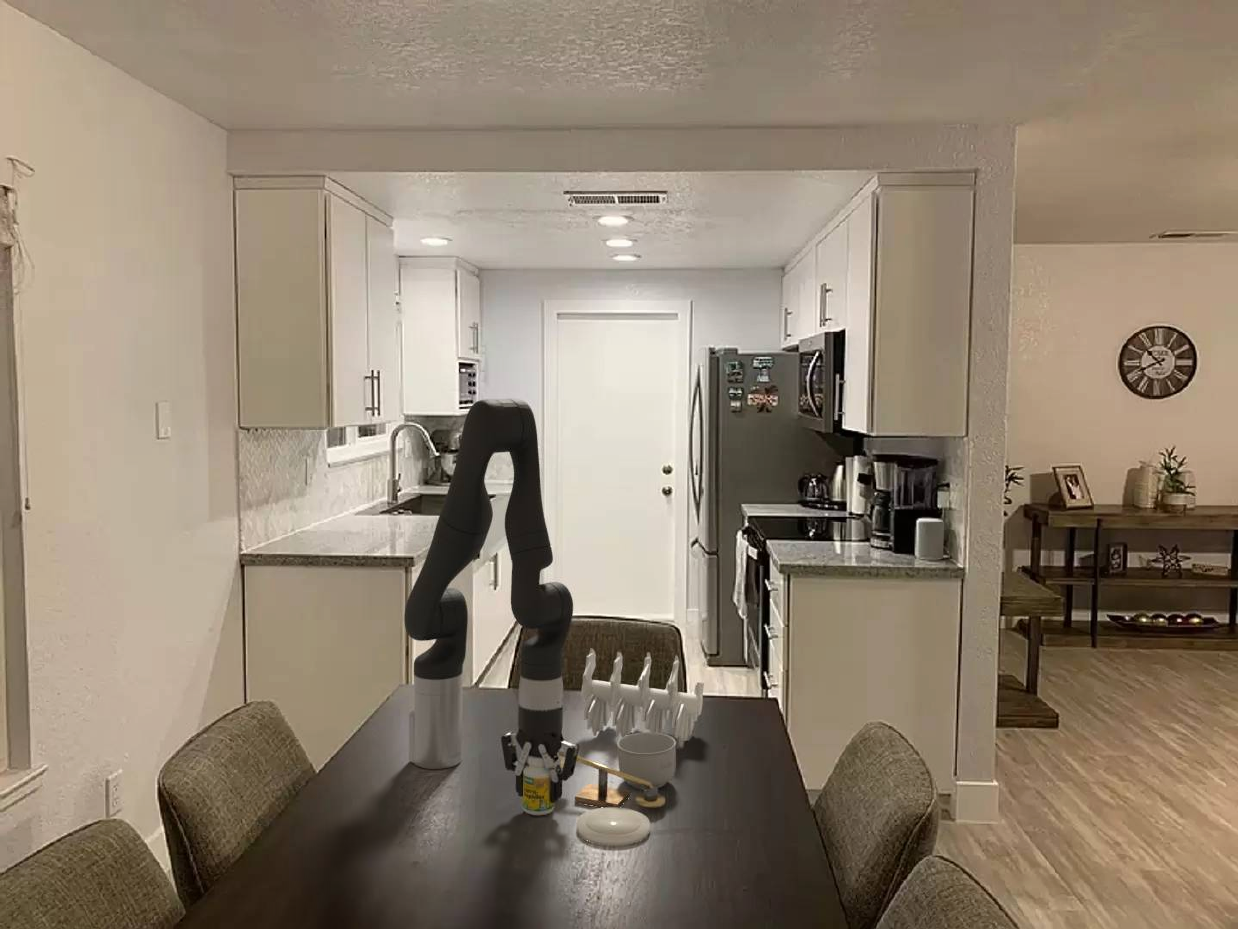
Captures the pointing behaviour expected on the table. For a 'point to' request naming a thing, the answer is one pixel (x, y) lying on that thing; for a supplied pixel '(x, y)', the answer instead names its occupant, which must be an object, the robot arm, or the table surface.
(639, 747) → the teacup
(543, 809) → the supplement bottle
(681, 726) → the spiral staircase
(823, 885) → the table surface
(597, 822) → the plate
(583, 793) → the balance
